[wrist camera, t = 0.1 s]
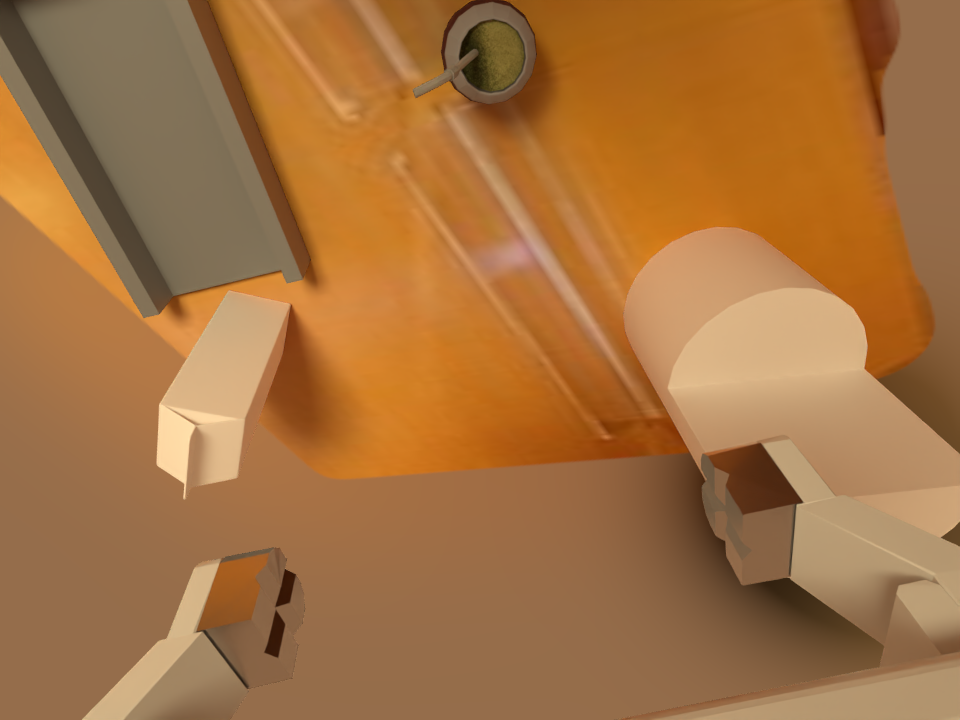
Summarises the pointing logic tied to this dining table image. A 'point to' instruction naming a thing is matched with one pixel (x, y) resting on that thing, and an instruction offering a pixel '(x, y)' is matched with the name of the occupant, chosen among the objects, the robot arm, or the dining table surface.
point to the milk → (221, 391)
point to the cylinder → (782, 373)
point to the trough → (151, 141)
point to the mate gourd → (486, 52)
